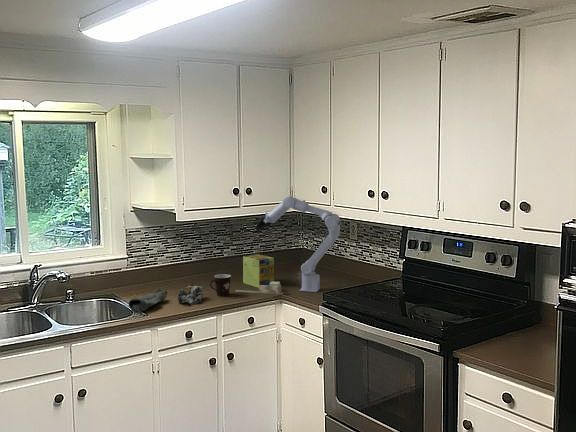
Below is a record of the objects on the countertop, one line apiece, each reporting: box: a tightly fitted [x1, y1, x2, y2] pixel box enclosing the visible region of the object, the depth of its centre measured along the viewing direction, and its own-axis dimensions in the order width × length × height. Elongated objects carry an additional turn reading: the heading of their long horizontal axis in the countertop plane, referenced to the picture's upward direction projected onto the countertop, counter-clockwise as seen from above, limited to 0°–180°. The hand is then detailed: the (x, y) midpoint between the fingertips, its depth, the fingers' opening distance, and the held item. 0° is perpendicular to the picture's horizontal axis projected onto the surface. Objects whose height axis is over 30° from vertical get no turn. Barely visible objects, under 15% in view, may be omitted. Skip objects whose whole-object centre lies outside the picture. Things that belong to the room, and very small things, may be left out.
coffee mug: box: [209, 273, 232, 297], centre depth 324 cm, size 12×9×10 cm
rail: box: [234, 289, 284, 295], centre depth 330 cm, size 26×2×1 cm, turn 75°
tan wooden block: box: [258, 284, 283, 295], centre depth 328 cm, size 12×3×4 cm, turn 75°
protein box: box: [242, 254, 275, 289], centre depth 348 cm, size 10×15×16 cm
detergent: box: [128, 288, 168, 313], centre depth 305 cm, size 13×7×25 cm
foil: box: [177, 283, 204, 306], centre depth 313 cm, size 12×11×15 cm
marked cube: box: [270, 281, 281, 286], centre depth 333 cm, size 4×5×4 cm
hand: (258, 228), depth 338 cm, fingers open, 7 cm apart
